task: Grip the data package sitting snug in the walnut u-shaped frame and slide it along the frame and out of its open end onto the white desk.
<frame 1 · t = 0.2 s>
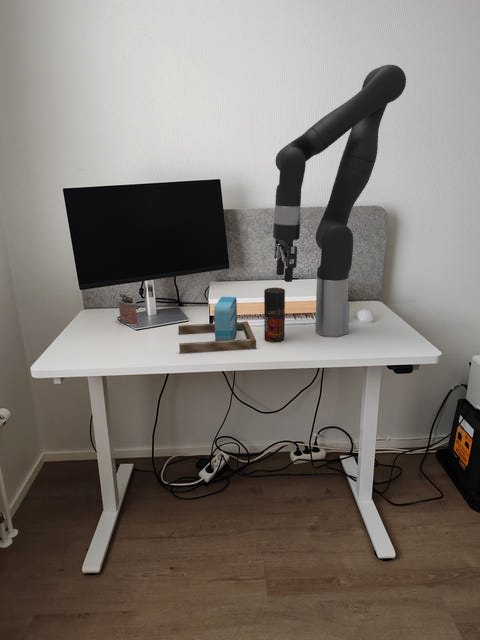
hand: (284, 278, 149), 18 cm above the table, tool pointing down, fingers open, 8 cm apart
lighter: (129, 323, 168), on the table
walnut u-shaped frame: (213, 340, 152), on the table
deodorant: (274, 339, 152), on the table
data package: (226, 340, 152), on the table
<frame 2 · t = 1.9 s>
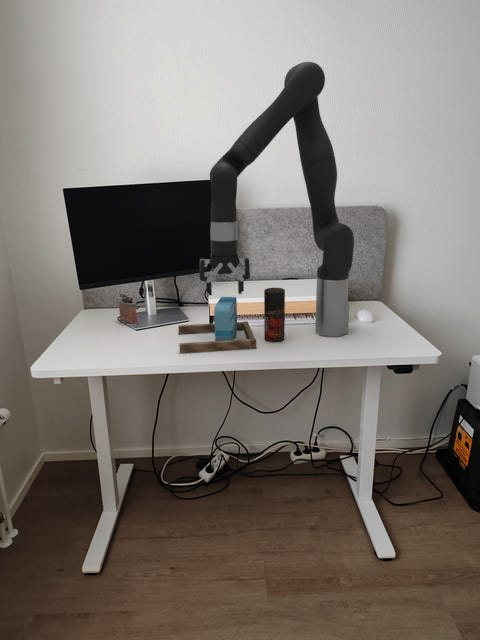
hand: (224, 294, 148), 14 cm above the table, tool pointing down, fingers open, 8 cm apart
nothing on the table moved.
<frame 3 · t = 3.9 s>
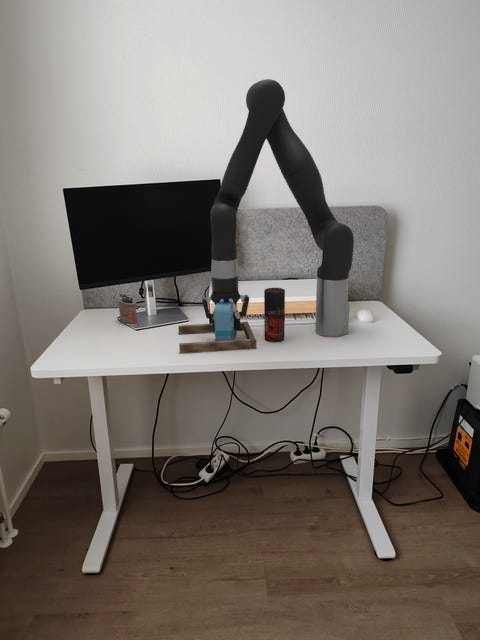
hand: (226, 330, 151), 3 cm above the table, tool pointing down, fingers closed on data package, 5 cm apart
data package: (226, 340, 152), on the table, touching gripper
everything else where it was.
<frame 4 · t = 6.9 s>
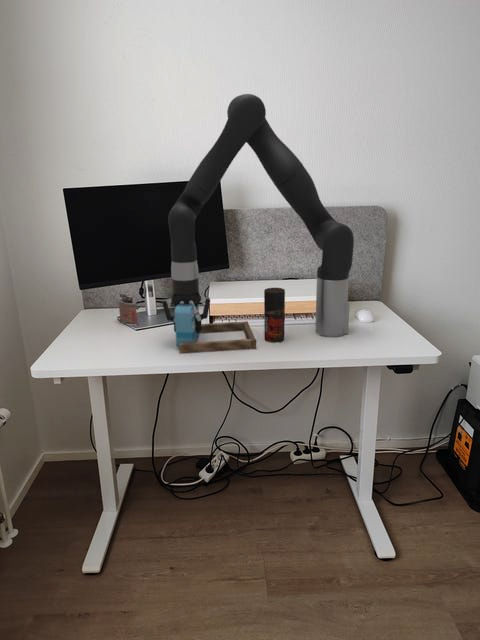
hand: (187, 332, 150), 3 cm above the table, tool pointing down, fingers closed on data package, 5 cm apart
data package: (188, 342, 151), on the table, touching gripper
everything else where it was.
when the fingers open (3 cm above the table, at t = 9.9 s): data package stays where it is, on the table.
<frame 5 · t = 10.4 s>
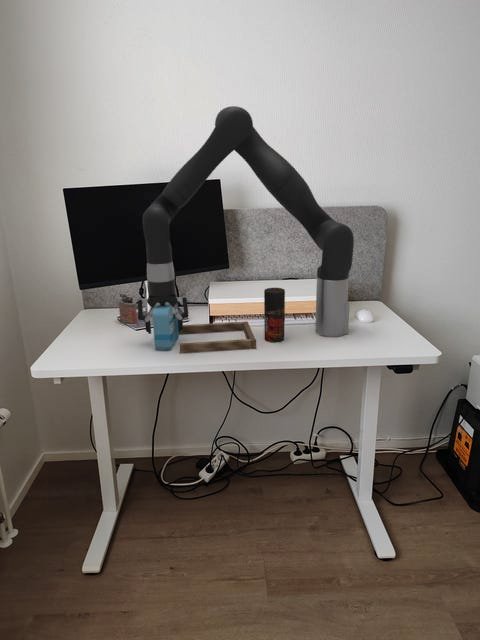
hand: (164, 332, 149), 4 cm above the table, tool pointing down, fingers open, 8 cm apart
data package: (167, 344, 150), on the table
everything else where it was.
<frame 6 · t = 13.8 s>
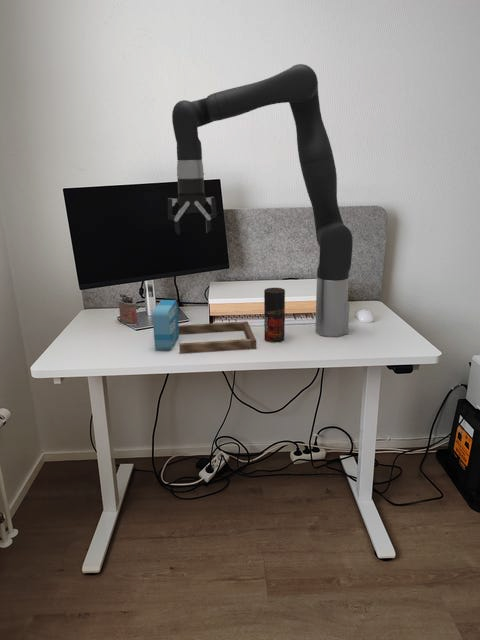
hand: (193, 233, 152), 30 cm above the table, tool pointing down, fingers open, 8 cm apart
nothing on the table moved.
at the end: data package inside the target area (2.4 cm from its centre), on the table; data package tilted 0°; the gripper is holding nothing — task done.
